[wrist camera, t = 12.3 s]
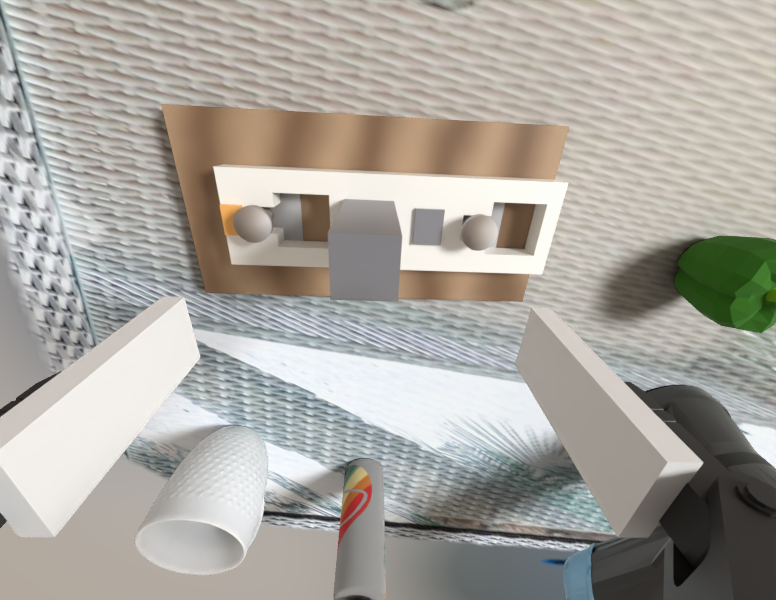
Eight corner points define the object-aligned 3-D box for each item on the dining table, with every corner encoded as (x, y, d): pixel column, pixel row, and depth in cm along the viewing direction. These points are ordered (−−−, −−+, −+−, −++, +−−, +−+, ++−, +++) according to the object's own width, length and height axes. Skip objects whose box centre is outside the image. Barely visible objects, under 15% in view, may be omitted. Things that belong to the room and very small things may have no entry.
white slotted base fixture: (556, 179, 28) (667, 208, 17) (532, 266, 31) (612, 334, 21) (224, 164, 26) (121, 185, 16) (240, 256, 30) (165, 324, 19)
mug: (303, 474, 48) (280, 582, 37) (236, 488, 49) (193, 598, 38) (257, 404, 42) (211, 509, 30) (181, 423, 43) (108, 531, 31)
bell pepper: (640, 284, 35) (729, 336, 26) (698, 213, 32) (823, 245, 23) (698, 308, 37) (800, 364, 28) (759, 242, 33) (897, 282, 24)
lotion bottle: (339, 462, 47) (316, 660, 30) (376, 453, 47) (375, 650, 29) (353, 485, 50) (339, 680, 32) (388, 477, 49) (394, 671, 31)
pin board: (556, 126, 28) (599, 125, 22) (514, 293, 35) (539, 321, 30) (175, 106, 26) (124, 99, 21) (214, 284, 34) (184, 312, 28)
